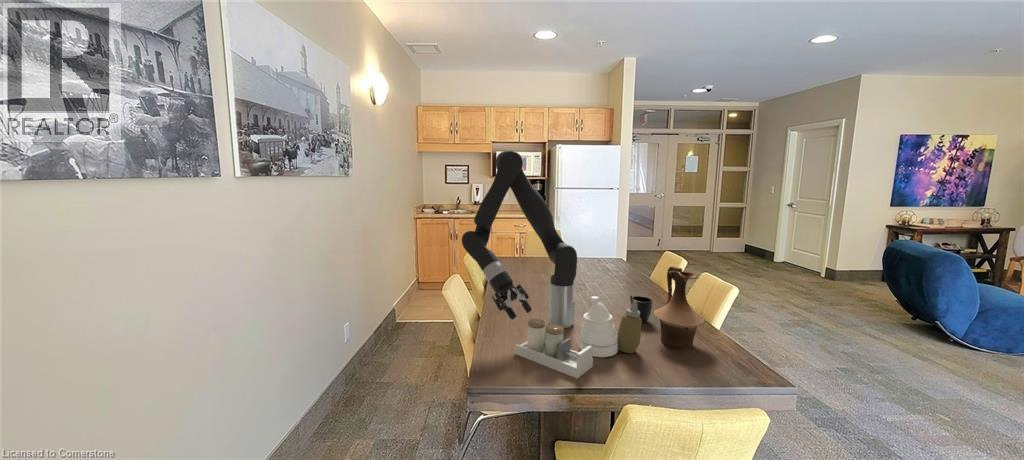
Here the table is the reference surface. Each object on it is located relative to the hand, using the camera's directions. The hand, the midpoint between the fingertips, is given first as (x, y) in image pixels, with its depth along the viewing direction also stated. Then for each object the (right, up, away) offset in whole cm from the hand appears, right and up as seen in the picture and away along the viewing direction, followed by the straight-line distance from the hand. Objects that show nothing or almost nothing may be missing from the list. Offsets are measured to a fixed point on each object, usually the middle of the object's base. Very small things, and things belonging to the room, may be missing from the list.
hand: (522, 314), depth 131 cm
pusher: (+14, -13, -10) cm, 22 cm away
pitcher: (+57, -12, +8) cm, 59 cm away
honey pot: (+27, -12, +2) cm, 30 cm away
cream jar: (+5, -11, -2) cm, 13 cm away
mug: (+50, -9, +31) cm, 60 cm away
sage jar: (+10, -12, -7) cm, 17 cm away
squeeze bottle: (+36, -13, +1) cm, 38 cm away
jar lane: (+10, -13, -6) cm, 18 cm away
